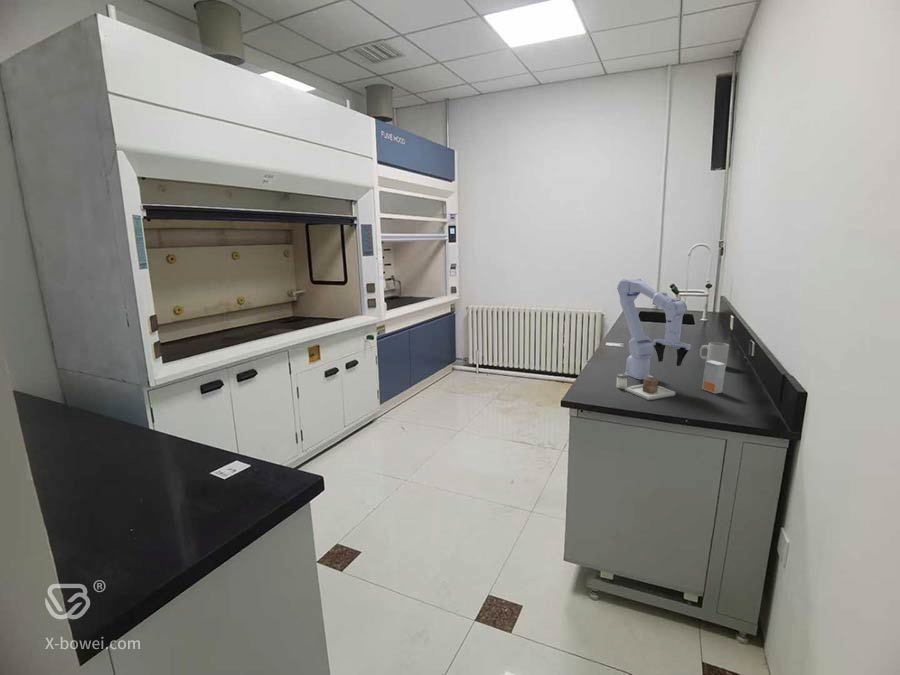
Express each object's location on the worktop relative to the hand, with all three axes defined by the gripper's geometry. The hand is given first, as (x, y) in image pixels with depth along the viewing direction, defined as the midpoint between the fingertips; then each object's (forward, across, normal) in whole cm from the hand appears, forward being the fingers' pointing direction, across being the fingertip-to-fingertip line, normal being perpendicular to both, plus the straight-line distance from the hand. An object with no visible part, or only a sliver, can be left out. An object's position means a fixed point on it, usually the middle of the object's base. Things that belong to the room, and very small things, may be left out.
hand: (669, 363), depth 183 cm
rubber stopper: (+10, -6, -4) cm, 12 cm away
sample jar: (+10, -11, -16) cm, 22 cm away
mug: (+10, -3, +48) cm, 49 cm away
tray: (+10, 0, -14) cm, 17 cm away
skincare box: (+10, +14, +9) cm, 19 cm away
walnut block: (+9, 0, -13) cm, 16 cm away
